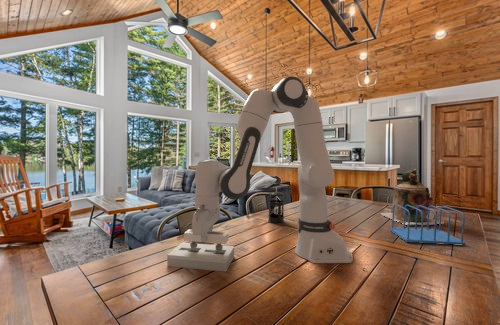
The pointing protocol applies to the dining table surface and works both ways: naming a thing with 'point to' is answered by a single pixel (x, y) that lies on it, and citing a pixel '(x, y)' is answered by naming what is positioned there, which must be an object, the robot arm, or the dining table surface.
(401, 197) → the cookie jar
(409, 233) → the file sorter
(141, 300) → the dining table surface
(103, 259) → the dining table surface
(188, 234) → the cream rectangular block
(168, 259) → the mounting board
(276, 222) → the french press
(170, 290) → the dining table surface
